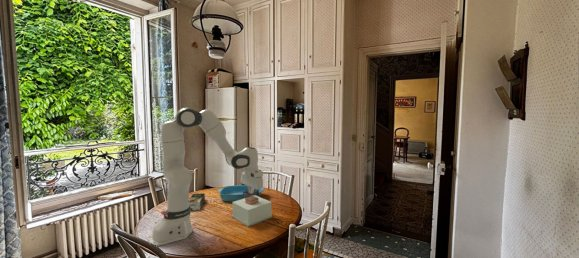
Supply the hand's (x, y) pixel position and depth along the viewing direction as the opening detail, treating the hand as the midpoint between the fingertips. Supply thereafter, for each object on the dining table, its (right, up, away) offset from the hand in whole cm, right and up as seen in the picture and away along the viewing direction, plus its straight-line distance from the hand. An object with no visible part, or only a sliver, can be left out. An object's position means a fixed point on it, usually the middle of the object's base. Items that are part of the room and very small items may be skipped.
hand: (251, 193), depth 151 cm
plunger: (0, -15, +1) cm, 15 cm away
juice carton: (-45, -16, +22) cm, 52 cm away
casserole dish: (-14, -14, +37) cm, 42 cm away
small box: (-3, -15, +22) cm, 27 cm away
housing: (0, -16, +1) cm, 16 cm away
